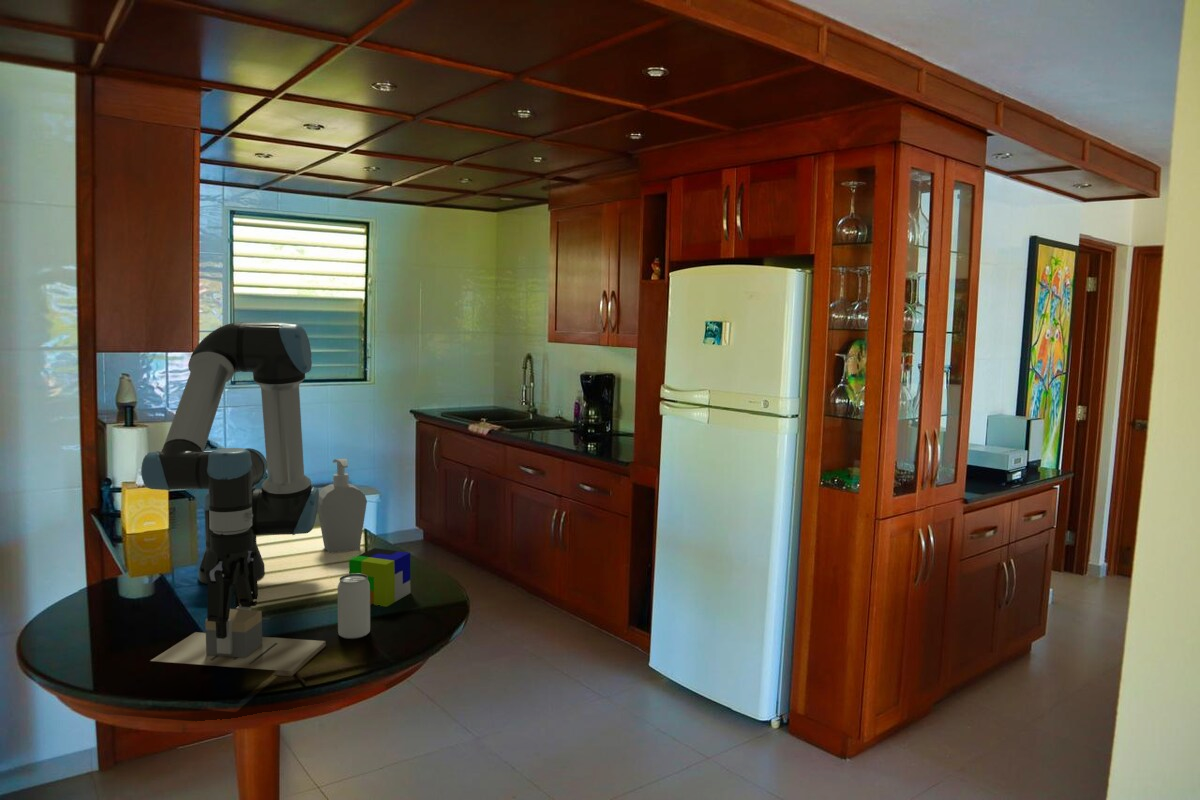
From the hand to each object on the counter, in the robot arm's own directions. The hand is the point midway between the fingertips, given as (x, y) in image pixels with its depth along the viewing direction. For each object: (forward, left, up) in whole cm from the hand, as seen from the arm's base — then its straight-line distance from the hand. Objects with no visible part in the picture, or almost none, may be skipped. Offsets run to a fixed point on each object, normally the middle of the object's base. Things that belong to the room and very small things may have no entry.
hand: (234, 645), depth 158 cm
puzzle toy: (+15, +36, -2) cm, 39 cm away
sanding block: (0, 0, -1) cm, 1 cm away
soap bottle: (-10, +71, -2) cm, 72 cm away
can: (+18, +14, -2) cm, 23 cm away
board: (+1, 0, -2) cm, 2 cm away
